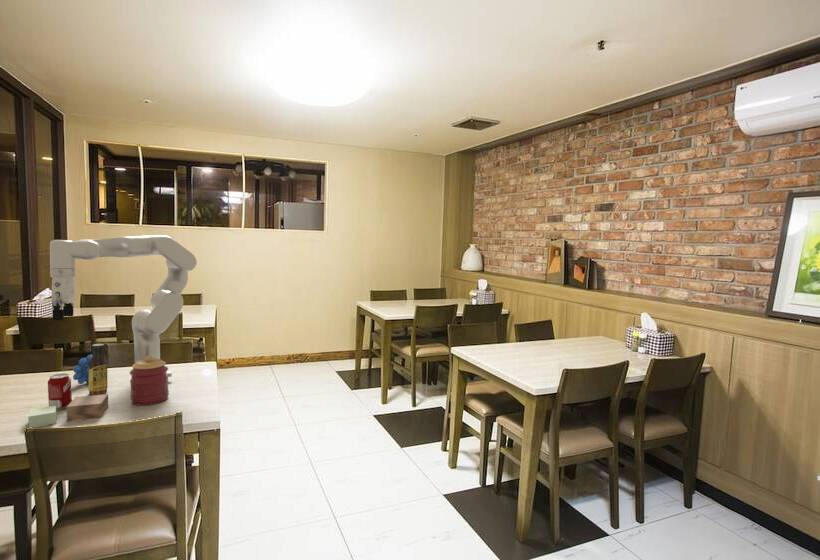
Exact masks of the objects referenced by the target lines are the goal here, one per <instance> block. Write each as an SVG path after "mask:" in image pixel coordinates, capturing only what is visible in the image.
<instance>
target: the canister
mask: <svg viewBox="0 0 820 560" xmlns="http://www.w3.org/2000/svg"><path fill="white" fill-rule="evenodd" d="M166 364H167V363H166V361H164V360H163V359H161V358H160V359H156V358H153V357H152V356H151V355H148V356H146V357H145V359H144V360H140V361H137V362H136V363H135V362H134V364H132V366H131V367H132V369H131V370H130V371H129V375H130V376H131V377H130V380H129V382H130V402H131V403H132V404H133V405H135V406H148V405H154V404H159V403H162V402H164V401H166V400H168V399H169V394H170V393H169V392H170V391H169V377H168V375H167V372H168V370H169V367H168V366H167V365H166Z"/></svg>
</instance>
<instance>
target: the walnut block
mask: <svg viewBox="0 0 820 560" xmlns="http://www.w3.org/2000/svg"><path fill="white" fill-rule="evenodd" d="M108 409H109V394H108V393H104V394H101V395H82V396H75V397H74V398H72V401H71V402H70V404H69V405H68V406H67V408H66V421H67V422H69V421H79V420H80V421H81V420H89V419H100V418H103V416H104V414H105V413H106V412H107V410H108Z"/></svg>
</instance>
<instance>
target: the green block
mask: <svg viewBox="0 0 820 560" xmlns="http://www.w3.org/2000/svg"><path fill="white" fill-rule="evenodd" d="M27 417H28V428H29V429H31V428H30V427H34V428H39V427H40V428H41V427H44V426H43V425H45V426H49V425H48V424H51V425H57V410H56V406H51V407H49V406H47V407H46V406H45V407H40V408H33V409H29V411H28V416H27Z"/></svg>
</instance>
